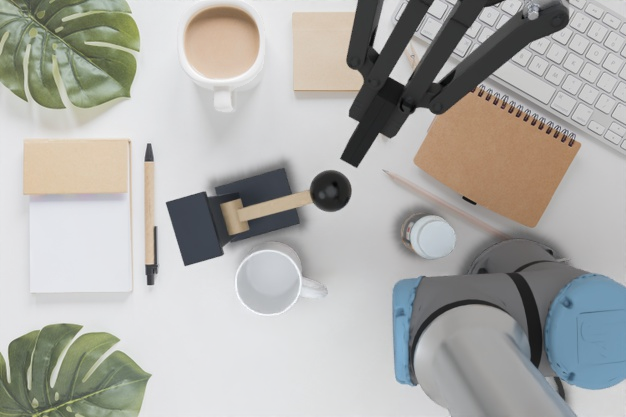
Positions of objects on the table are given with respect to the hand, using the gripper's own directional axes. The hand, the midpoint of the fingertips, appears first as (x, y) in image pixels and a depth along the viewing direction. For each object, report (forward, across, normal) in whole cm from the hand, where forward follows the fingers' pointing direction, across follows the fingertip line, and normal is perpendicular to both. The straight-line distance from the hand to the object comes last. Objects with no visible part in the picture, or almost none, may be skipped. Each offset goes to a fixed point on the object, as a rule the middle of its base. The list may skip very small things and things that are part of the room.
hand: (353, 152), depth 42 cm
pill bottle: (+26, -16, -23) cm, 38 cm away
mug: (+36, -2, -13) cm, 38 cm away
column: (+32, +9, -15) cm, 37 cm away
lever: (+10, +2, -2) cm, 10 cm away
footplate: (+31, +6, -18) cm, 36 cm away
